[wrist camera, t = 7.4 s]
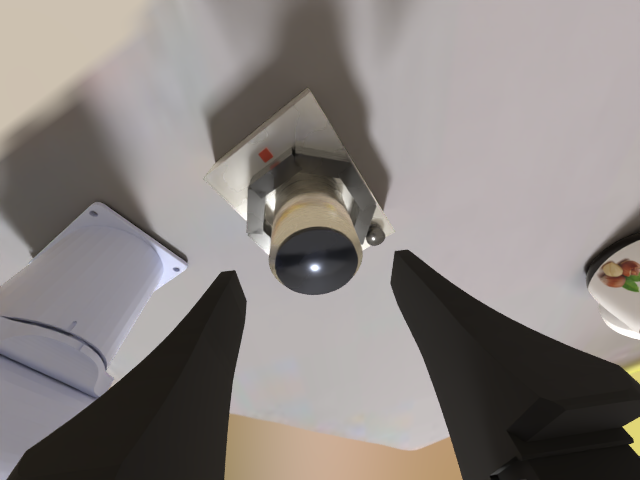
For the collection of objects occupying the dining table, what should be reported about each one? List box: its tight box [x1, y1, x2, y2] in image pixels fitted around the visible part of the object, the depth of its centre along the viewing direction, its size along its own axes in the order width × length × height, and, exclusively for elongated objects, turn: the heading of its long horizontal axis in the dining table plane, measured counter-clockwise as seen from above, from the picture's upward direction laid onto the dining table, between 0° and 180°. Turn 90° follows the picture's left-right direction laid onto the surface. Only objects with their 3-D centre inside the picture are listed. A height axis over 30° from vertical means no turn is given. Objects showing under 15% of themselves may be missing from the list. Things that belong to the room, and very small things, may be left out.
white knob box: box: [203, 87, 395, 255], centre depth 17 cm, size 8×11×4 cm
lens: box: [269, 172, 362, 295], centre depth 14 cm, size 4×4×6 cm
